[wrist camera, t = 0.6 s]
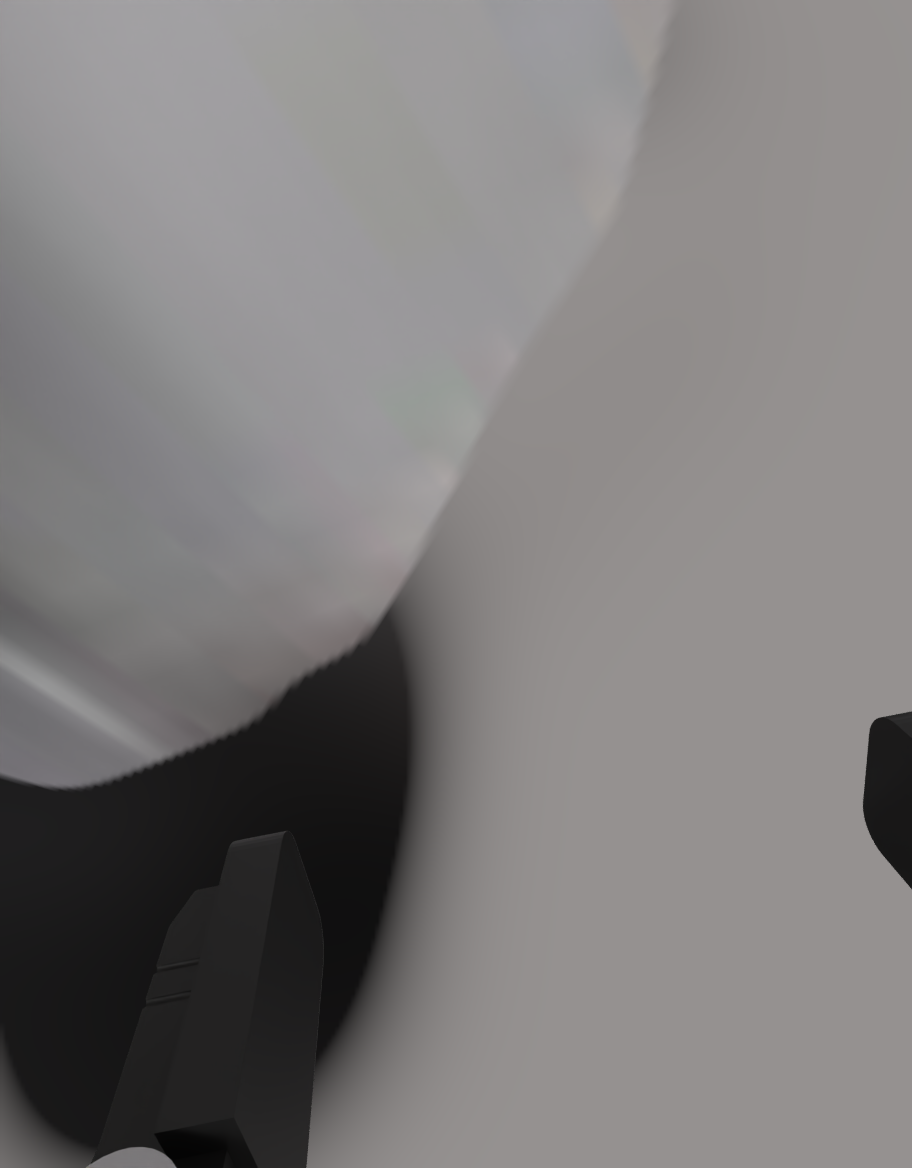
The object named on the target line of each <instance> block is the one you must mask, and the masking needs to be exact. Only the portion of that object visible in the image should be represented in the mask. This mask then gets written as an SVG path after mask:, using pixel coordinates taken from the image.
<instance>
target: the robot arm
mask: <svg viewBox="0 0 912 1168" xmlns="http://www.w3.org/2000/svg"><path fill="white" fill-rule="evenodd" d="M864 788H865V789H864V799H863V812H864V818H865V822H866V825H867V828H868V830H869V833H870V835H871V837H872V839H873V841H874V843H875V845H876V846H877V848H878V849H879V851H880V852H881V853H882V855H883V856H884V857H885V858H886V859H887V861H888V862H889V863H890V864H891V865H892V866H893V868H894V869H895V870H896V871H897V872H898V873H899V875H900V876H901V877H902V878H903V879H904V880H905V882H906V883H907V884H908V885H909V886H910V888H911V889H912V712H907V713H902V714H896V715H891V716H886V717H881V718H878V719H876V720H875V721H874V722H873V723H872V725H871V728H870V733H869V743H868V754H867V766H866V776H865V787H864ZM323 948H324V947H323V933H322V925H321V920H320V915H319V911H318V908H317V905H316V902H315V899H314V896H313V893H312V890H311V887H310V884H309V881H308V878H307V875H306V872H305V869H304V866H303V863H302V860H301V857H300V854H299V851H298V848H297V845H296V842H295V839H294V837H293V835H292V834H291V832H289V831H284V832H279V833H274V834H269V835H264V836H258V837H253V838H248V839H243V840H238V841H234V842H233V843H232V844H231V845H230V847H229V850H228V853H227V856H226V860H225V864H224V868H223V872H222V876H221V879H220V883H219V886H215V887H209V888H204V889H199V890H195V892H194V893H193V894H192V896H191V897H190V899H189V900H188V901H187V903H186V904H185V906H184V907H183V908H182V909H181V911H180V912H179V914H178V915H177V916H176V918H175V919H174V920H173V922H172V923H171V925H170V926H169V928H168V932H167V935H166V938H165V941H164V944H163V947H162V951H161V953H160V956H159V960H158V963H157V973H156V974H154V975H153V978H152V981H151V984H150V987H149V991H148V994H147V997H146V1008H143V1009H142V1012H141V1015H140V1019H139V1022H138V1025H137V1028H136V1031H135V1034H134V1038H133V1040H132V1044H131V1047H130V1050H129V1053H128V1056H127V1059H126V1062H125V1065H124V1068H123V1071H122V1075H121V1078H120V1081H119V1084H118V1087H117V1090H116V1093H115V1096H114V1100H113V1103H112V1106H111V1109H110V1112H109V1115H108V1118H107V1121H106V1125H105V1128H104V1131H103V1134H102V1137H101V1140H100V1143H99V1145H98V1148H97V1151H96V1153H95V1156H94V1158H93V1160H92V1162H91V1164H90V1165H89V1166H87V1167H86V1168H306V1164H307V1153H308V1140H309V1129H310V1117H311V1105H312V1092H313V1081H314V1068H315V1057H316V1045H317V1033H318V1021H319V1008H320V997H321V985H322V973H323V959H324V949H323Z"/></svg>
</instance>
